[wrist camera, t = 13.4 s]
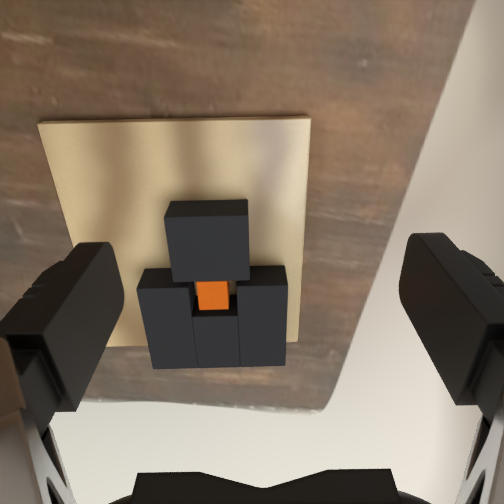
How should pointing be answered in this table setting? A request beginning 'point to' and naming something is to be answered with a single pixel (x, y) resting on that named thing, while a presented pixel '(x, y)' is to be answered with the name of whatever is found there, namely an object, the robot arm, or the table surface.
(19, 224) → the table surface
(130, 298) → the board
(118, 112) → the table surface
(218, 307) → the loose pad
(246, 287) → the dark grey u-shaped block
